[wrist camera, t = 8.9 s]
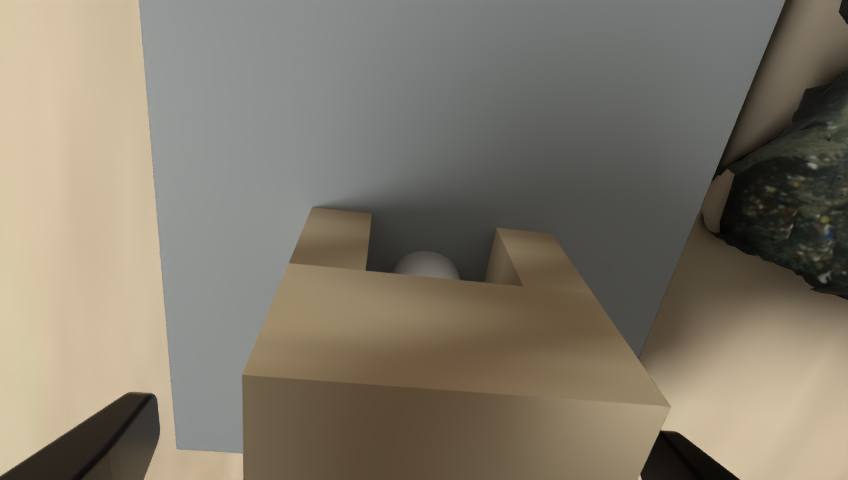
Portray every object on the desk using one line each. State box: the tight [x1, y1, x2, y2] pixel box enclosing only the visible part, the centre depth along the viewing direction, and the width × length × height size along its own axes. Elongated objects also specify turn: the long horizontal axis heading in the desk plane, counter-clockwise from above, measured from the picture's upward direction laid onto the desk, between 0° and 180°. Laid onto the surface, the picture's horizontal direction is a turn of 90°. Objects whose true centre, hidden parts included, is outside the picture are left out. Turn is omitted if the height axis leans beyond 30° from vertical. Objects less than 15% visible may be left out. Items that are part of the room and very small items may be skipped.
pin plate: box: [139, 0, 785, 453], centre depth 8 cm, size 11×21×4 cm, turn 172°
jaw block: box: [242, 207, 671, 480], centre depth 9 cm, size 5×6×5 cm
